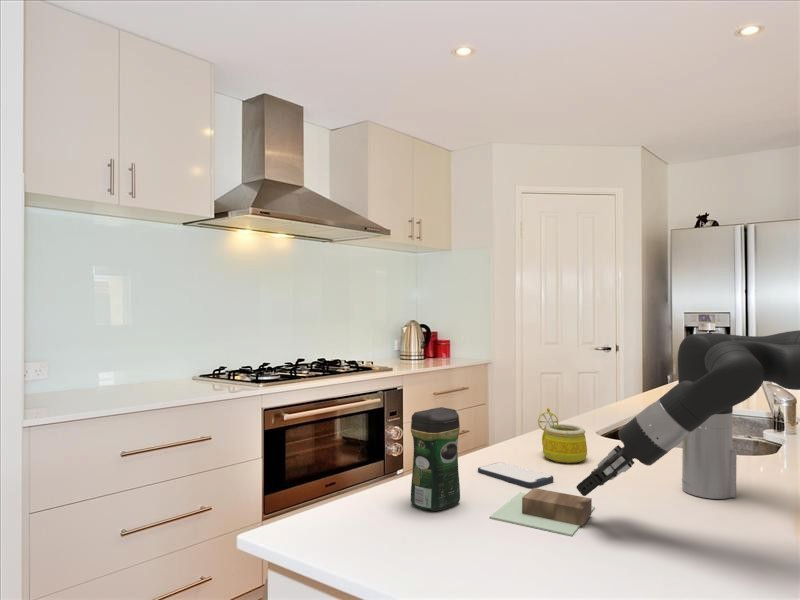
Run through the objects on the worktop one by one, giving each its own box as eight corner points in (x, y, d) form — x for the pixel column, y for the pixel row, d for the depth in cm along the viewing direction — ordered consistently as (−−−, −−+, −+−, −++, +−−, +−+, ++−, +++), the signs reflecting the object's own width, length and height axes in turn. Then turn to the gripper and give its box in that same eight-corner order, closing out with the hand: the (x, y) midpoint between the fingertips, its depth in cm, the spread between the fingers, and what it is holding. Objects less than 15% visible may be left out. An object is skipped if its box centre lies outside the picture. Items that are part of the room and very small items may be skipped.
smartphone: (475, 474, 135) (530, 491, 123) (475, 467, 135) (530, 483, 123) (500, 468, 141) (556, 483, 128) (500, 461, 141) (556, 475, 128)
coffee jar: (436, 493, 120) (437, 403, 120) (466, 503, 114) (467, 408, 114) (402, 504, 113) (403, 408, 113) (432, 515, 107) (433, 414, 107)
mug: (596, 461, 146) (597, 412, 146) (567, 467, 139) (568, 417, 139) (556, 449, 156) (556, 405, 156) (527, 455, 150) (528, 409, 150)
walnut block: (591, 498, 108) (533, 487, 114) (582, 508, 102) (522, 497, 108) (591, 514, 108) (533, 503, 114) (582, 526, 102) (522, 513, 108)
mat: (594, 508, 112) (595, 506, 112) (572, 536, 98) (572, 534, 98) (520, 493, 120) (520, 492, 120) (489, 518, 106) (489, 516, 106)
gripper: (665, 458, 92) (586, 520, 99) (676, 441, 103) (603, 497, 110) (630, 421, 95) (555, 483, 101) (644, 408, 106) (575, 465, 113)
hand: (580, 490), depth 106 cm, fingers closed
